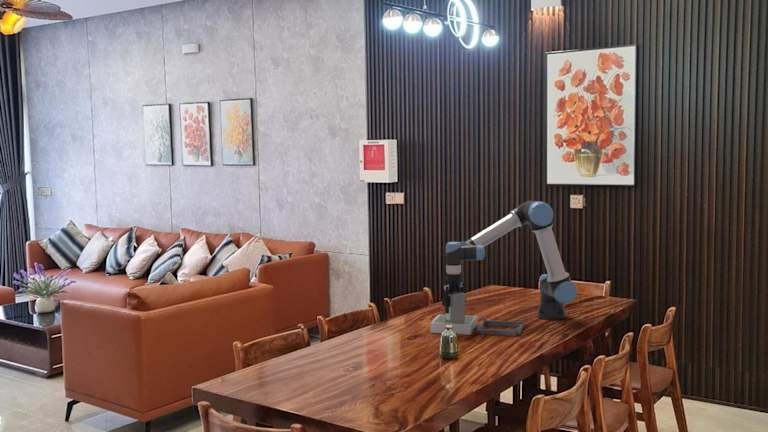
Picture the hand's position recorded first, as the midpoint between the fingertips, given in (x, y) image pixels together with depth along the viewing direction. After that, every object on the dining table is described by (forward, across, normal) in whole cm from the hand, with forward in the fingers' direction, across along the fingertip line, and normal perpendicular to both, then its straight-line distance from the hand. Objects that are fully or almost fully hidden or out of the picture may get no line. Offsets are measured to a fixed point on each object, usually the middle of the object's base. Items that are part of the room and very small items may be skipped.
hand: (454, 317), depth 378 cm
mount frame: (+6, -13, +19) cm, 24 cm away
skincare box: (+3, 0, +1) cm, 3 cm away
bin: (+6, 0, 0) cm, 6 cm away
